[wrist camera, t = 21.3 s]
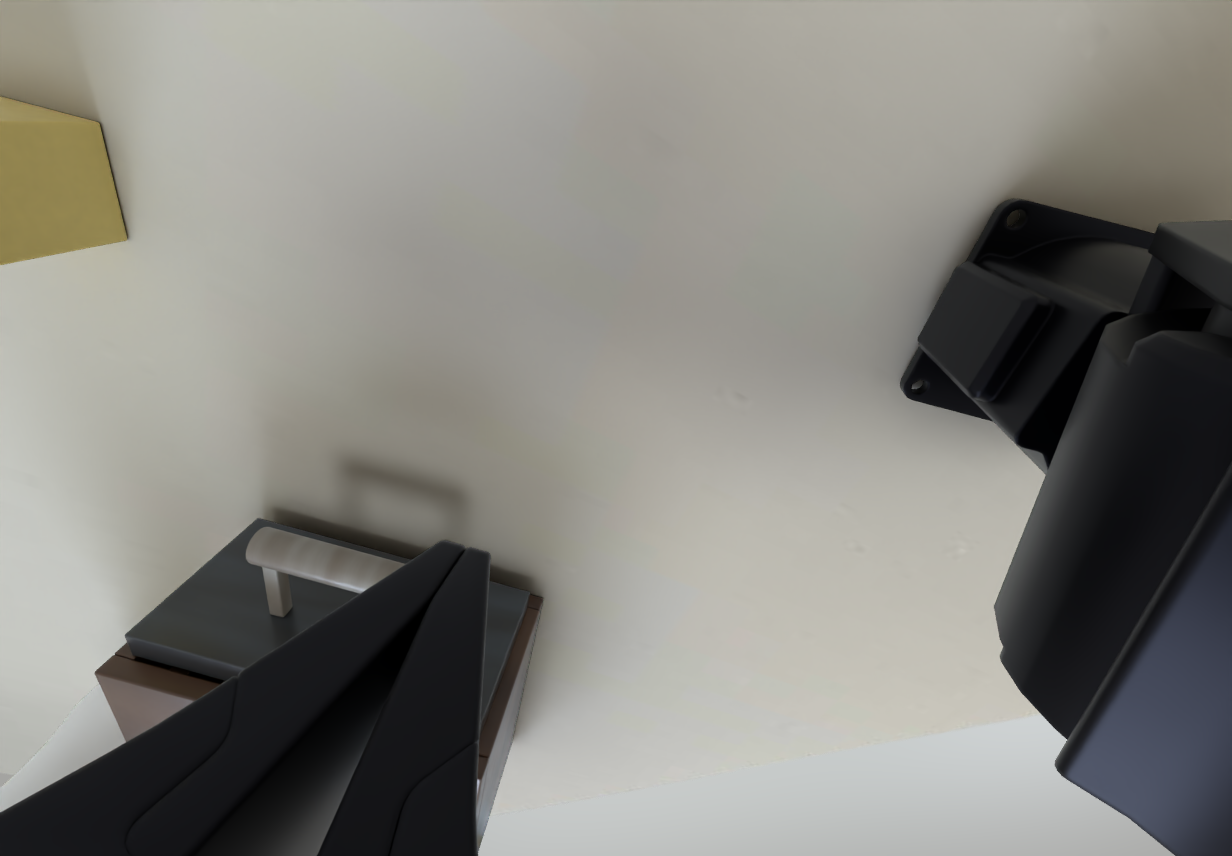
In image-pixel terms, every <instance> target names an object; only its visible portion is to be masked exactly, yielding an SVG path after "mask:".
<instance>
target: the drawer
mask: <svg viewBox="0 0 1232 856" xmlns="http://www.w3.org/2000/svg"><path fill="white" fill-rule="evenodd" d="M409 561H411V560H410V559H407V558H403V557H399V556H395V555H392V554H388V553H384V552H381V551H377V550H373V549H370V548H366V547H362V546H359V545H355V544H351V543H348V542H344V541H340V540H337V539H333V538H329V537H326V536H322V535H318V534H315V533H311V532H307V531H304V530H300V529H296V528H292V527H289V526H285V525H281V524H278V523H274V522H270V521H267V520H263V519H259V518H258V519H256V520H255V521H254V522H253V523H252V524H251V525H249V526H248V527H247V528H246V529H245V530H244V531H243V532H242V533H240V534H239V535H238V536H237V537H236V538H235V539H234V540H232V541H231V542H230V543H229V544H228V545H227V546H226V547H224V548H223V549H222V550H221V551H220V552H219V553H218V554H216V555H215V556H214V557H213V558H212V559H211V560H210V561H208V562H207V563H206V564H205V565H204V566H203V567H202V568H200V569H199V570H198V571H197V572H196V573H195V574H194V575H193V576H191V577H190V578H189V579H188V580H187V581H186V582H185V583H183V584H182V585H181V586H180V587H179V588H178V589H177V590H175V591H174V592H173V593H172V594H171V595H170V596H169V597H167V598H166V599H165V600H164V601H163V602H162V603H161V604H159V605H158V606H157V607H156V608H155V609H154V610H153V611H151V612H150V613H149V614H148V615H147V616H146V617H145V618H143V619H142V620H141V621H140V622H139V623H138V624H137V625H136V626H134V627H133V628H132V629H131V630H130V631H129V632H128V633H126V634H125V638H126V640H127V643H128V645H129V648H130V650H131V653H132V655H134V656H138V657H142V658H145V659H149V660H153V661H156V662H160V663H163V664H167V665H171V666H172V667H171V668H170V669H169V670H171V671H174V672H178V673H181V674H185V675H189V676H192V677H196V678H200V679H203V680H207V681H210V682H214V683H218V684H222V683H223V682H225V681H227V680H228V679H230V678H231V677H233V676H236V677H238V675H239V673H240V672H241V671H242V670H244V669H245V668H247V667H248V666H250V665H251V664H253V663H254V662H256V661H258V660H259V659H261V658H262V657H264V656H265V655H267V654H268V653H270V652H271V651H273V650H274V649H276V648H277V647H279V646H281V645H282V644H284V643H285V642H287V641H288V640H290V639H291V638H293V637H294V636H296V635H297V634H299V633H300V632H302V631H304V630H305V629H307V628H308V627H310V626H311V625H313V624H314V623H316V622H317V621H319V620H320V619H322V618H323V617H325V616H327V615H328V614H330V613H331V612H333V611H334V610H336V609H337V608H339V607H340V606H342V605H343V604H345V603H346V602H348V601H350V600H351V599H353V598H354V597H356V596H357V595H359V594H360V593H362V592H363V591H365V590H366V589H368V588H369V587H371V586H373V585H374V584H376V583H377V582H379V581H380V580H382V579H383V578H385V577H386V576H388V575H389V574H391V573H392V572H394V571H396V570H397V569H399V568H400V567H402V566H403V565H405V564H406V563H408V562H409ZM529 595H530V592H528V591H524V590H521V589H517V588H513V587H510V586H506V585H502V584H498V583H495V582H491V581H489V592H488V608H487V624H486V640H485V657H484V673H483V689H482V705H481V721H480V735H481V732H482V730H483V727H484V724H485V721H486V719H487V716H488V713H489V711H490V708H491V705H492V702H493V700H494V697H495V694H496V691H497V689H498V686H499V683H500V681H501V678H502V675H503V672H504V670H505V667H506V664H507V661H508V659H509V656H510V653H511V651H512V648H513V645H514V642H515V640H516V637H517V634H518V631H519V629H520V626H521V623H522V621H523V618H524V615H525V612H526V610H527V606H528V601H529ZM479 738H480V737H479Z"/></svg>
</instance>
